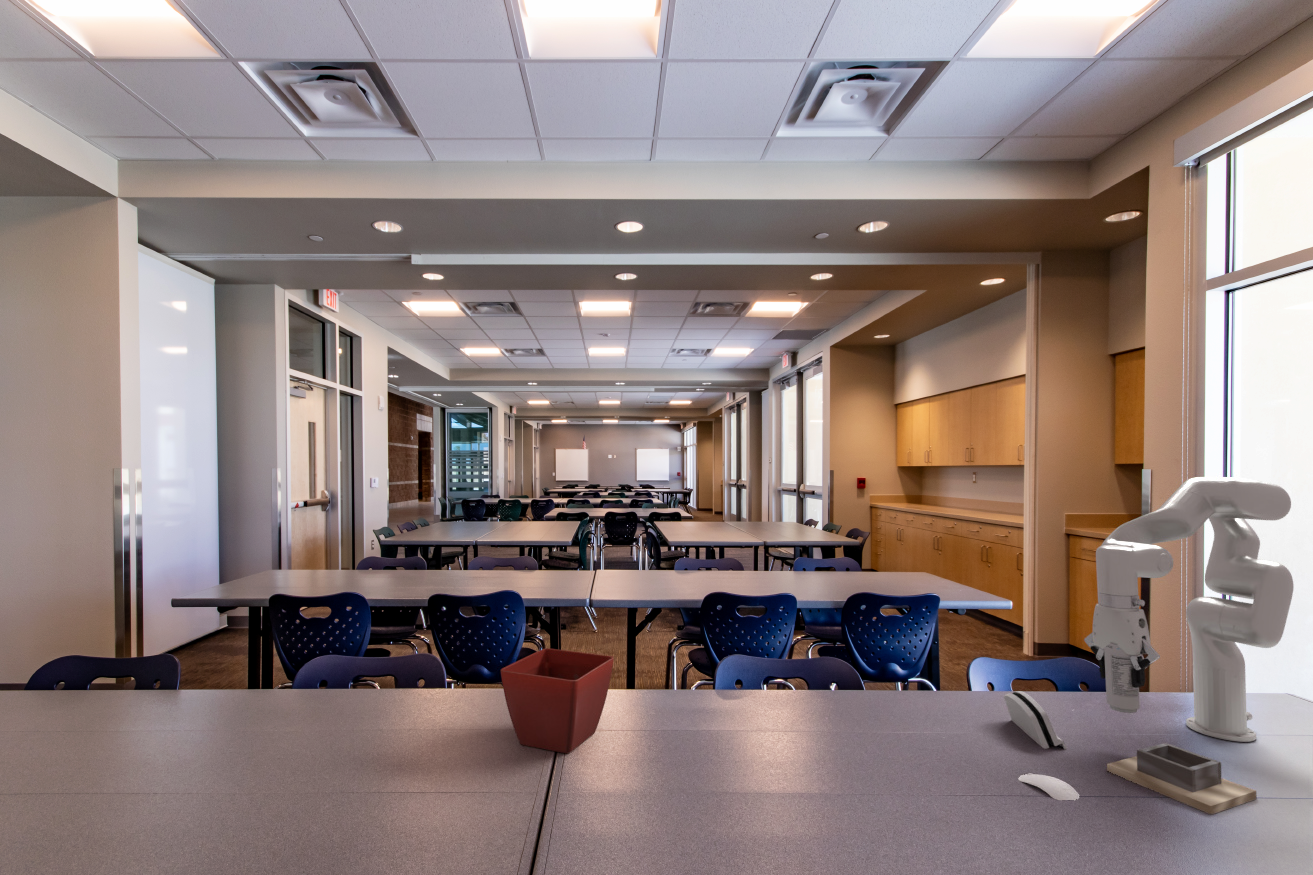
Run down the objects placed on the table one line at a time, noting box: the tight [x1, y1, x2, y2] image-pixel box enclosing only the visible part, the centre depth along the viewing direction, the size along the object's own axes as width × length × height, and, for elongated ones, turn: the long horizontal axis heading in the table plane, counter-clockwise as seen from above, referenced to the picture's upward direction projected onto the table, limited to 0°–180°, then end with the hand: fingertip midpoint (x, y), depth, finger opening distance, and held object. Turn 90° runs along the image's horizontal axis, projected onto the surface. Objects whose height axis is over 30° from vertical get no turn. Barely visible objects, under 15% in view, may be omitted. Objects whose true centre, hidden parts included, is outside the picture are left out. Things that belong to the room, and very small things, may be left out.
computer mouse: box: [1017, 772, 1080, 801], centre depth 126 cm, size 7×12×2 cm, turn 21°
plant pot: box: [500, 648, 614, 754], centre depth 145 cm, size 19×19×17 cm
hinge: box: [1003, 690, 1067, 750], centre depth 152 cm, size 17×5×10 cm, turn 174°
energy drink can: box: [1104, 642, 1141, 714], centre depth 145 cm, size 6×6×15 cm
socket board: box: [1106, 742, 1257, 816], centre depth 127 cm, size 15×18×6 cm
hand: (1121, 681), depth 145 cm, fingers closed on energy drink can, 6 cm apart
